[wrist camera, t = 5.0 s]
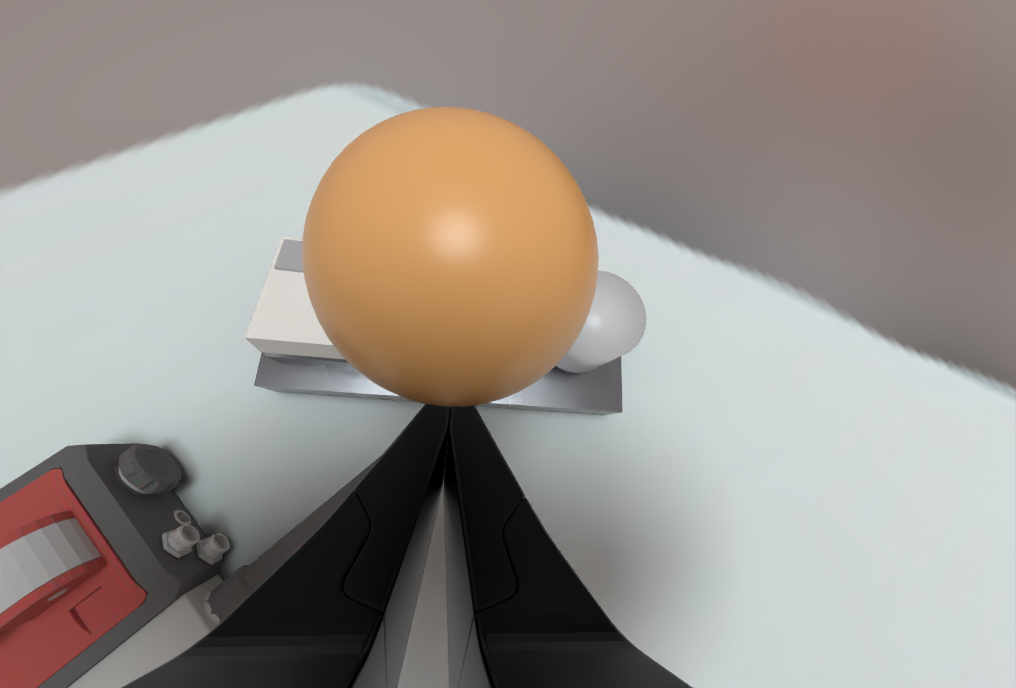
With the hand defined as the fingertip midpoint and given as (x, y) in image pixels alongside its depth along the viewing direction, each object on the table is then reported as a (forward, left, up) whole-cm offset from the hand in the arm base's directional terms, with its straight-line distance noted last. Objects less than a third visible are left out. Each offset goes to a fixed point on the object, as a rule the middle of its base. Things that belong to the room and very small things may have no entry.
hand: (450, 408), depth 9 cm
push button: (+1, -6, -6) cm, 9 cm away
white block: (+6, +3, -4) cm, 7 cm away
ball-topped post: (+4, -2, -5) cm, 6 cm away
